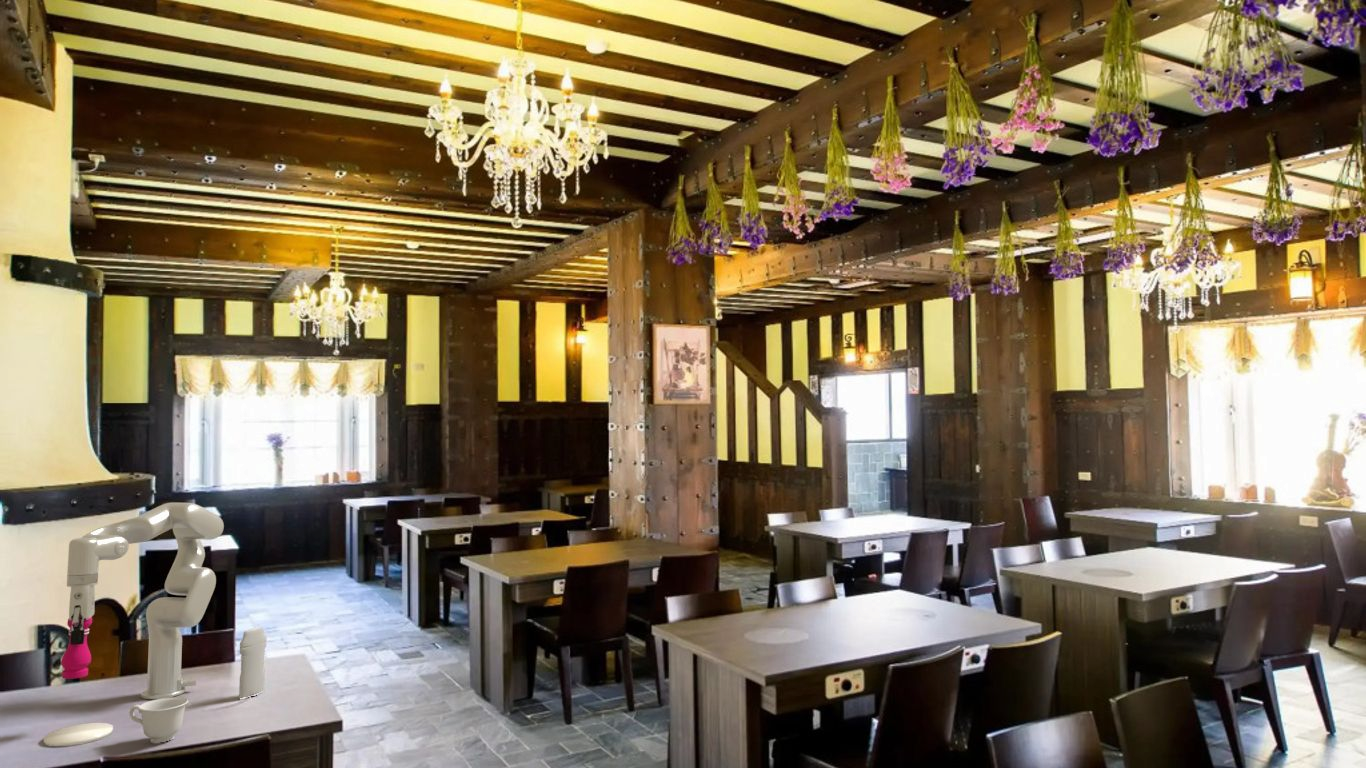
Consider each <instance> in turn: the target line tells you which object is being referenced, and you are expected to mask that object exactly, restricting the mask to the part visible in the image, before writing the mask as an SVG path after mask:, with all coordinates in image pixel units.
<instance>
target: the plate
mask: <svg viewBox="0 0 1366 768" xmlns="http://www.w3.org/2000/svg"><path fill="white" fill-rule="evenodd" d="M113 732H114V725H113V724H110V723H106V722H92V723H91V722H89V723H82V724H81V723H80V724H76V725H71V726H66V727H63V728H59V729H56V730H54V731H51V732H49V733H48V734H46V735H45V736H44V737H43V744H44V743H45V744H47V745H51V746H50V747H52V746H65V747H73V745H74V746H80V745H85V744H89V743H93V742H96V741H100V740H102V739H104V738H107V737H108V736H110V735H112V733H113ZM45 744H44V745H45ZM47 745H46V746H47Z"/></svg>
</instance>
